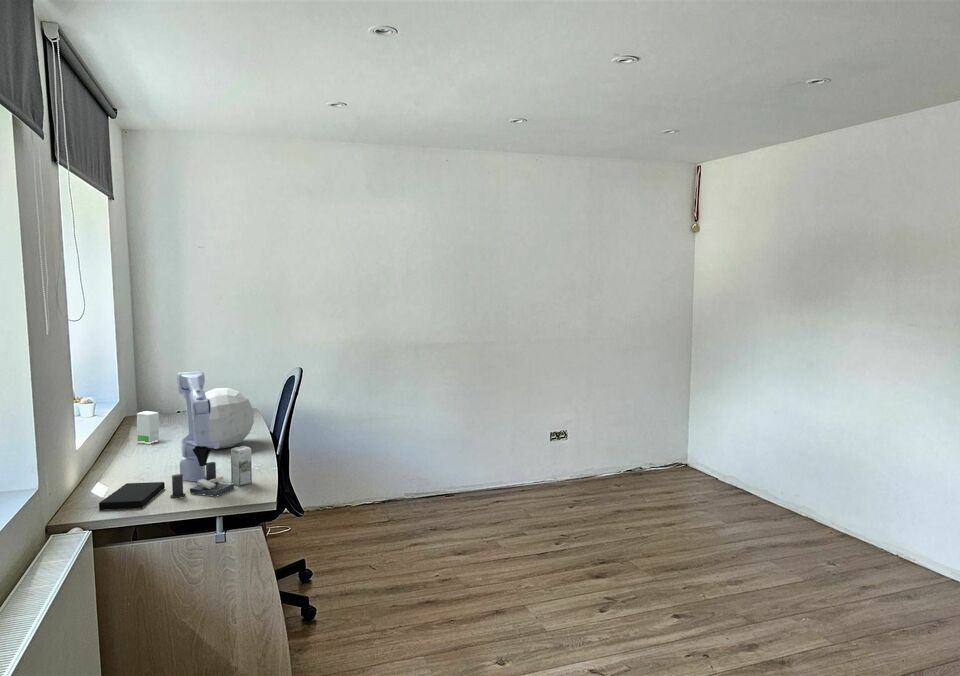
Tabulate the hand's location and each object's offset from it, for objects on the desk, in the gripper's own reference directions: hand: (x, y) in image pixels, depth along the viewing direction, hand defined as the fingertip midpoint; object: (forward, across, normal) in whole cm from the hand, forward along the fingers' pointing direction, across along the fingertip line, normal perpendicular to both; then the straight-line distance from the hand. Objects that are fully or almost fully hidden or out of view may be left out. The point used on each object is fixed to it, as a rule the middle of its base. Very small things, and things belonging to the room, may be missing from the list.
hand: (202, 465), depth 251 cm
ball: (+10, -40, +60) cm, 73 cm away
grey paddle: (+6, +4, -2) cm, 7 cm away
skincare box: (+10, -82, +56) cm, 100 cm away
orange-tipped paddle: (+6, +4, +2) cm, 7 cm away
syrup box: (+10, +8, +12) cm, 18 cm away
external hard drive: (+10, -18, -16) cm, 26 cm away
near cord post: (+10, -4, -9) cm, 14 cm away
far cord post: (+10, -4, +9) cm, 14 cm away
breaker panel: (+10, +4, 0) cm, 10 cm away
